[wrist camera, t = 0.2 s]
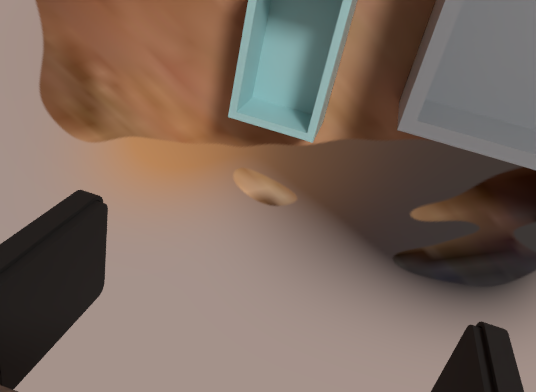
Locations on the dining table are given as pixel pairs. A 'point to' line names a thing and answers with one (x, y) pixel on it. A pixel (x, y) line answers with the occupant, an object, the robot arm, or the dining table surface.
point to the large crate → (476, 79)
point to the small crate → (289, 63)
